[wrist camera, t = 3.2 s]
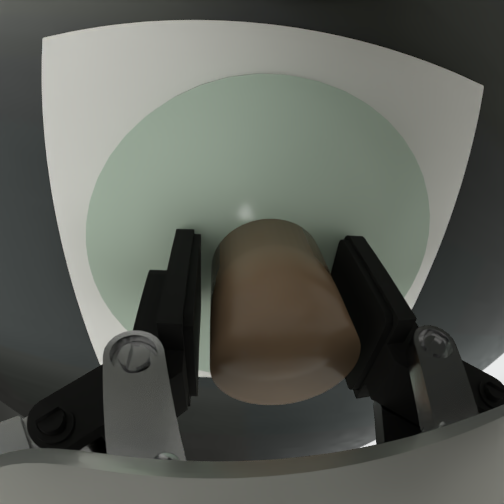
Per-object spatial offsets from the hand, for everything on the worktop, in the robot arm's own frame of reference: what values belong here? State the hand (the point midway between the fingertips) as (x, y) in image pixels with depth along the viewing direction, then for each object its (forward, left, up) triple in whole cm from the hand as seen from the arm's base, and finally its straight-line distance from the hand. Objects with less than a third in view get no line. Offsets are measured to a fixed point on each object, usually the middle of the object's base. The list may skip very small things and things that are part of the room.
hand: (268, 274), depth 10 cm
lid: (0, 0, -1) cm, 1 cm away
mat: (0, 0, -2) cm, 2 cm away
